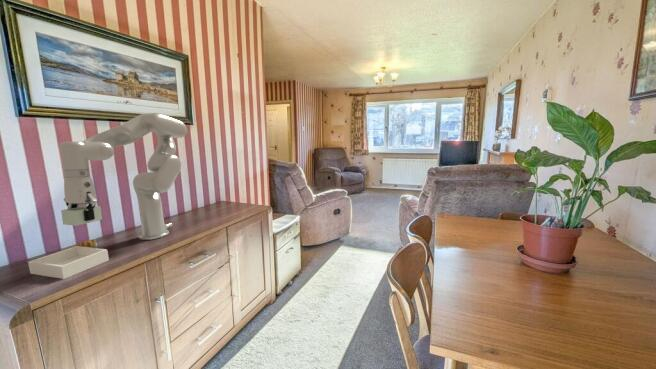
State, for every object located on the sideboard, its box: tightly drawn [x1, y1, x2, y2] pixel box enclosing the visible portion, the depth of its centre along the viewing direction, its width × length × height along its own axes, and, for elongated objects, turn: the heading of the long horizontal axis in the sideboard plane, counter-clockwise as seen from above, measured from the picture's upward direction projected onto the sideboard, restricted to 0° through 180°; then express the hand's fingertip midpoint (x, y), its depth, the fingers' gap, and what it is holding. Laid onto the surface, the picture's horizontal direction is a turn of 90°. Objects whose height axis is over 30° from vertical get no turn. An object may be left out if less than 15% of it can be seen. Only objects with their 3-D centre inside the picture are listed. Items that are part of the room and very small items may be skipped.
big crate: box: [27, 245, 110, 280], centre depth 102 cm, size 15×17×4 cm
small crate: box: [60, 205, 103, 227], centre depth 105 cm, size 9×7×6 cm
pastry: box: [69, 239, 98, 248], centre depth 119 cm, size 9×7×4 cm
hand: (82, 219), depth 105 cm, fingers closed on small crate, 7 cm apart
